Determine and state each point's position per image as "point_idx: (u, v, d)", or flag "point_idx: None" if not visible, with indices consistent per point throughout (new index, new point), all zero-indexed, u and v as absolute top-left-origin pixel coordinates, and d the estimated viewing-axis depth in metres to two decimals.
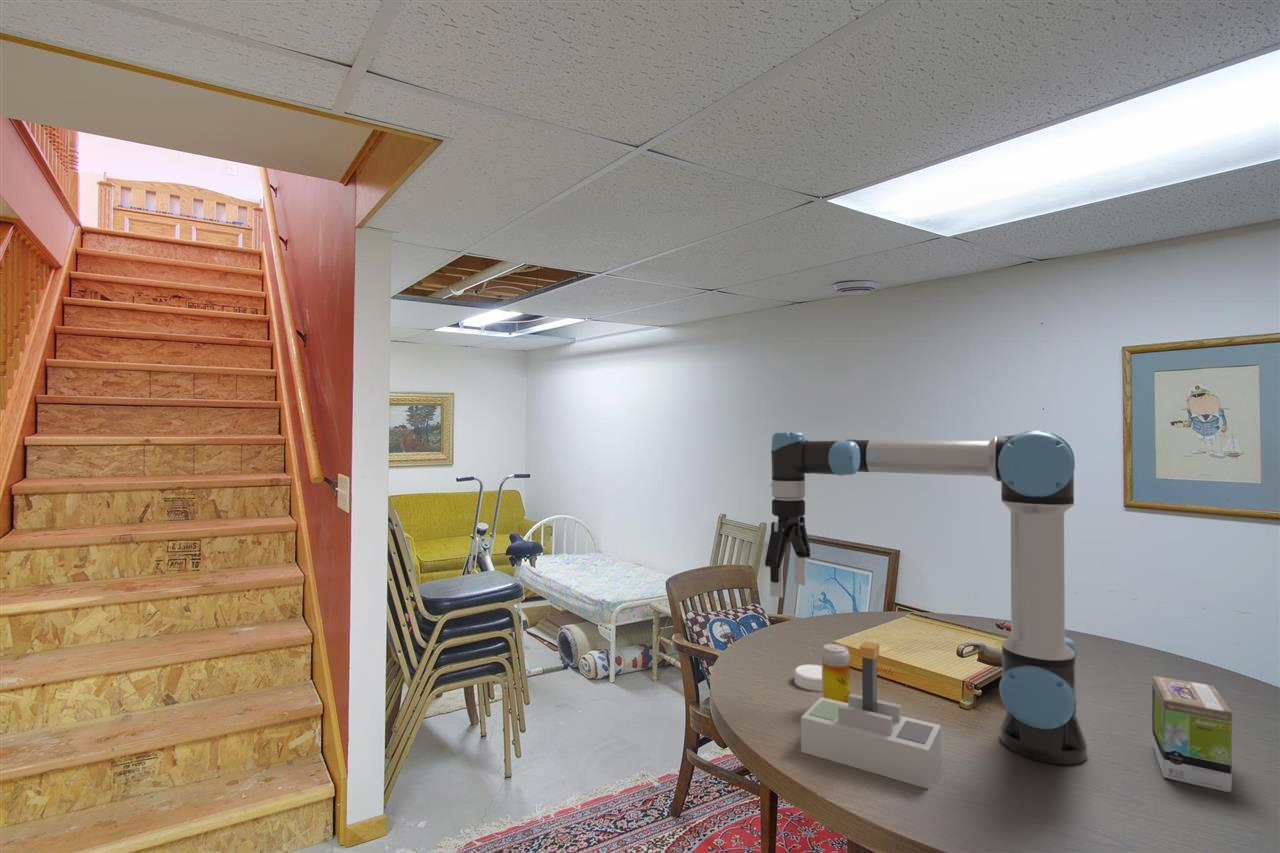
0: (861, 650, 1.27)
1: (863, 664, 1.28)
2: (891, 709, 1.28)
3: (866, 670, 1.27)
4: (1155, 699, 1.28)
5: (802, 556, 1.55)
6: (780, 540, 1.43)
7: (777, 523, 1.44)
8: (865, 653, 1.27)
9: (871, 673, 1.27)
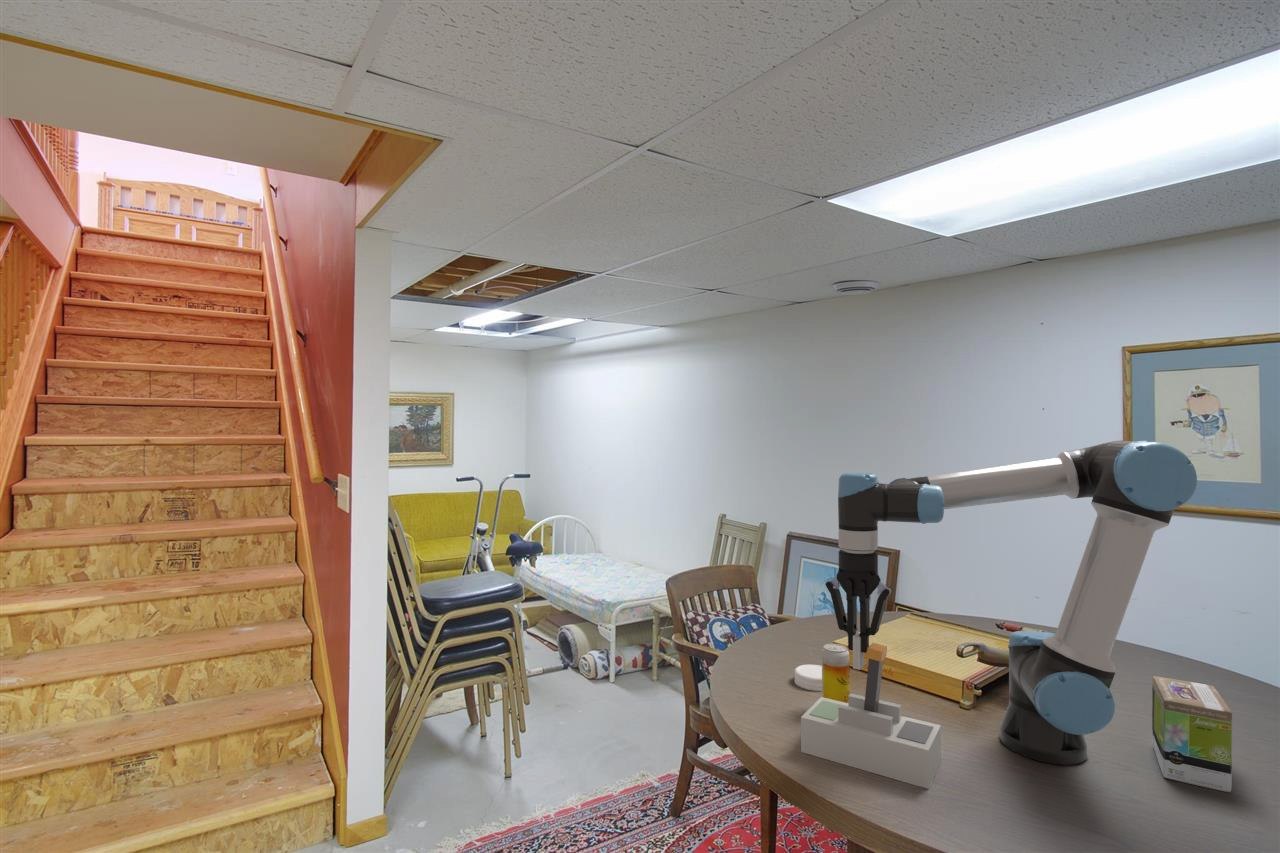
0: (869, 651, 1.27)
1: (869, 665, 1.27)
2: (891, 709, 1.28)
3: (871, 672, 1.27)
4: (1155, 699, 1.28)
5: (860, 632, 1.29)
6: (834, 600, 1.31)
7: None
8: (873, 655, 1.26)
9: (876, 675, 1.26)
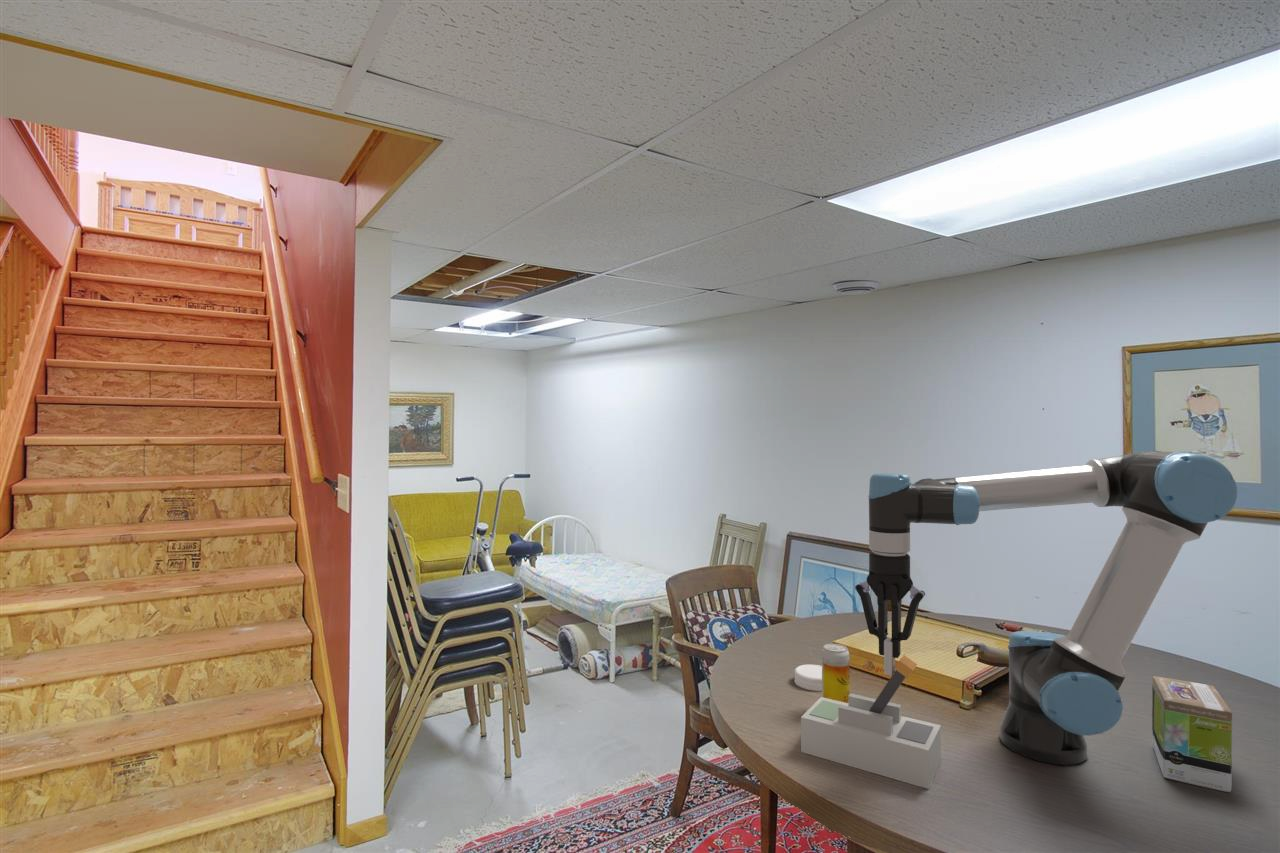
0: (899, 664, 1.23)
1: (893, 676, 1.24)
2: (891, 709, 1.28)
3: (892, 682, 1.24)
4: (1155, 699, 1.28)
5: None
6: (864, 604, 1.28)
7: None
8: (902, 669, 1.23)
9: (896, 687, 1.24)
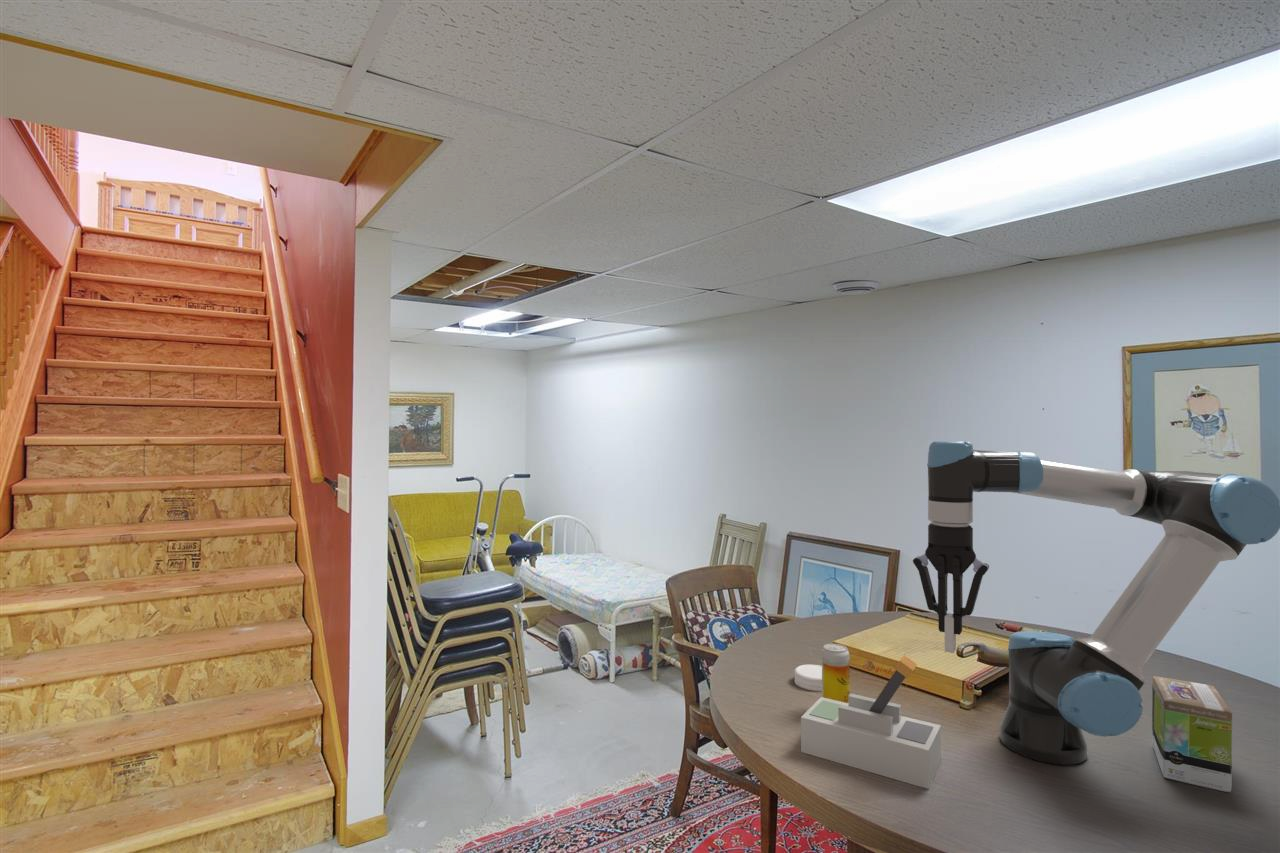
0: (899, 664, 1.23)
1: (893, 676, 1.24)
2: (891, 709, 1.28)
3: (892, 682, 1.24)
4: (1155, 699, 1.28)
5: (953, 612, 1.19)
6: (923, 578, 1.22)
7: None
8: (902, 669, 1.23)
9: (896, 687, 1.24)
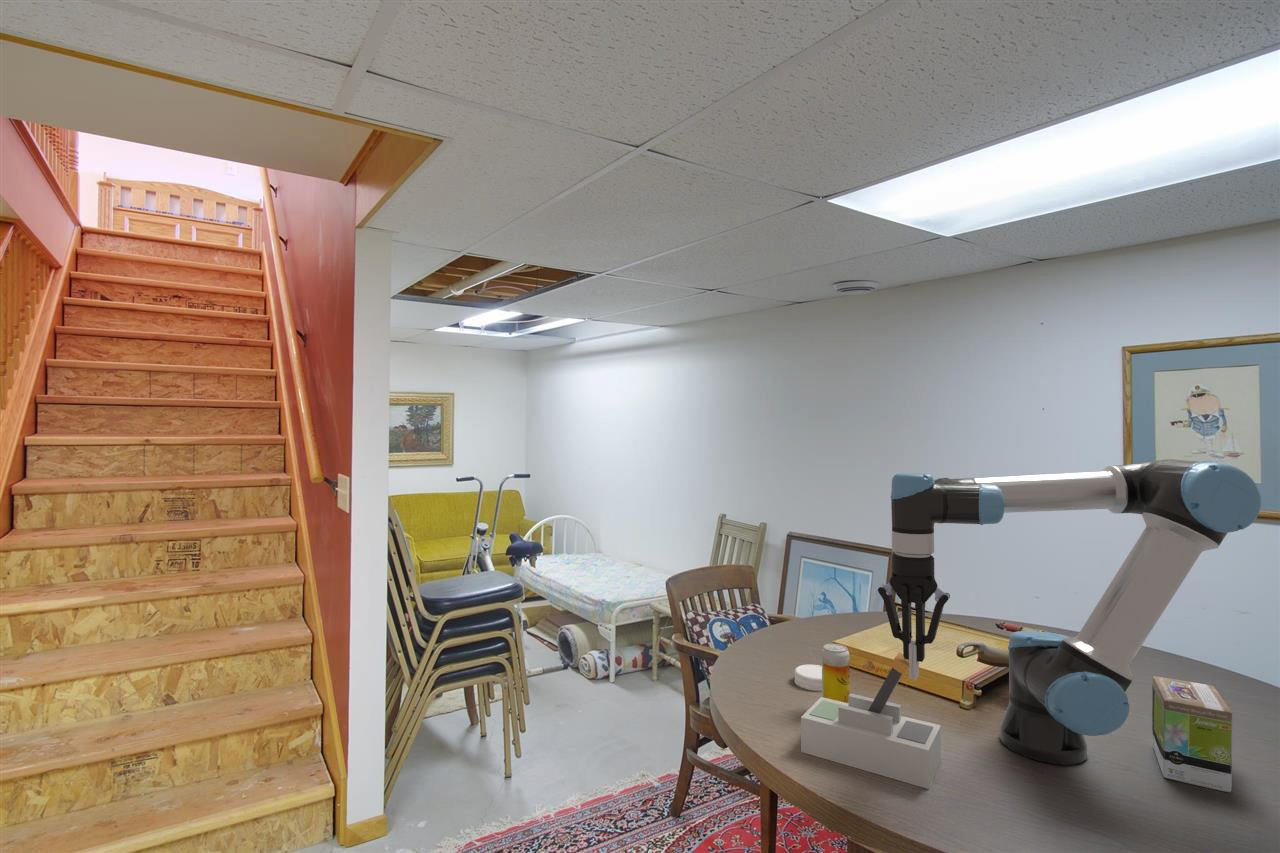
0: (895, 661, 1.24)
1: (890, 674, 1.25)
2: (891, 709, 1.28)
3: (889, 680, 1.25)
4: (1155, 699, 1.28)
5: None
6: (888, 607, 1.25)
7: None
8: (898, 666, 1.24)
9: (894, 685, 1.24)
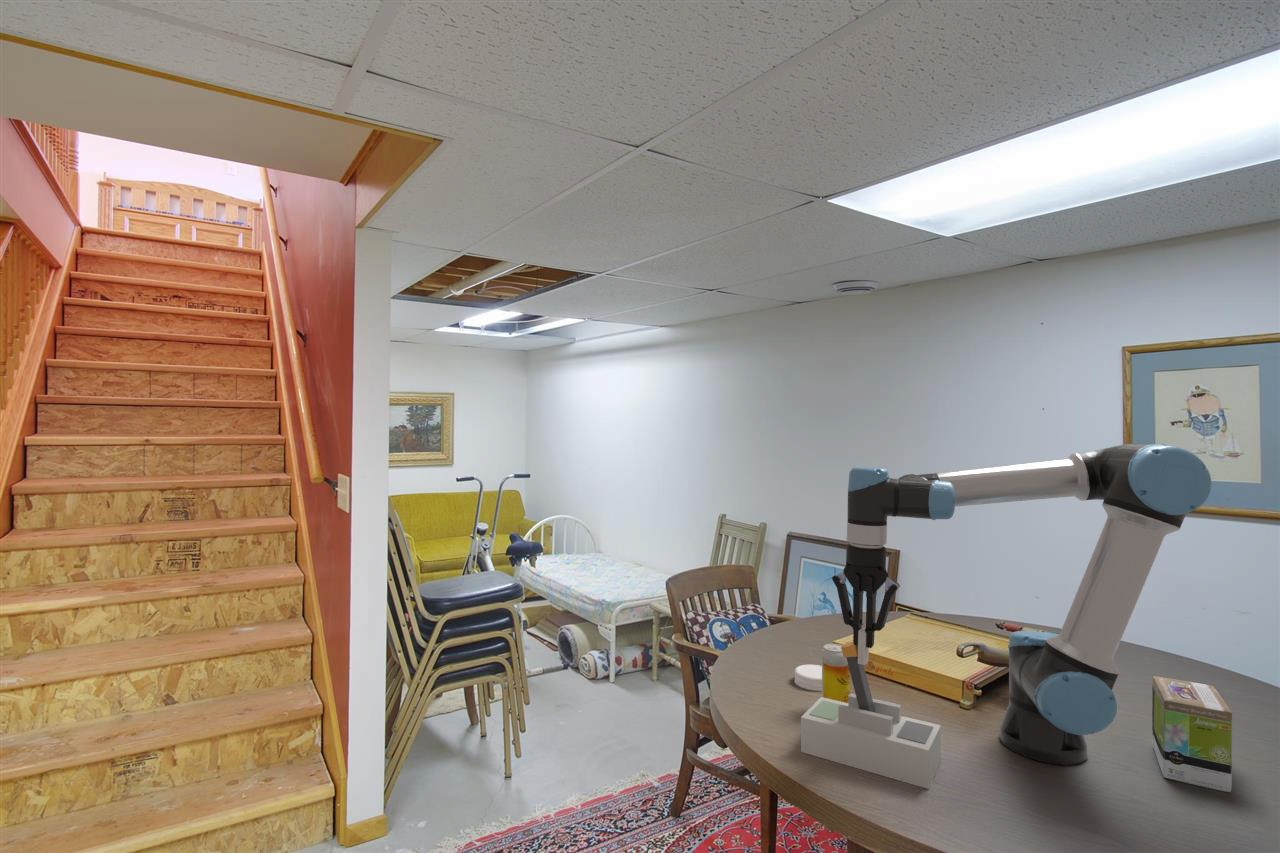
0: (843, 650, 1.29)
1: (849, 664, 1.29)
2: (891, 709, 1.28)
3: (853, 670, 1.29)
4: (1155, 699, 1.28)
5: None
6: (840, 595, 1.30)
7: None
8: (848, 652, 1.29)
9: (858, 671, 1.28)
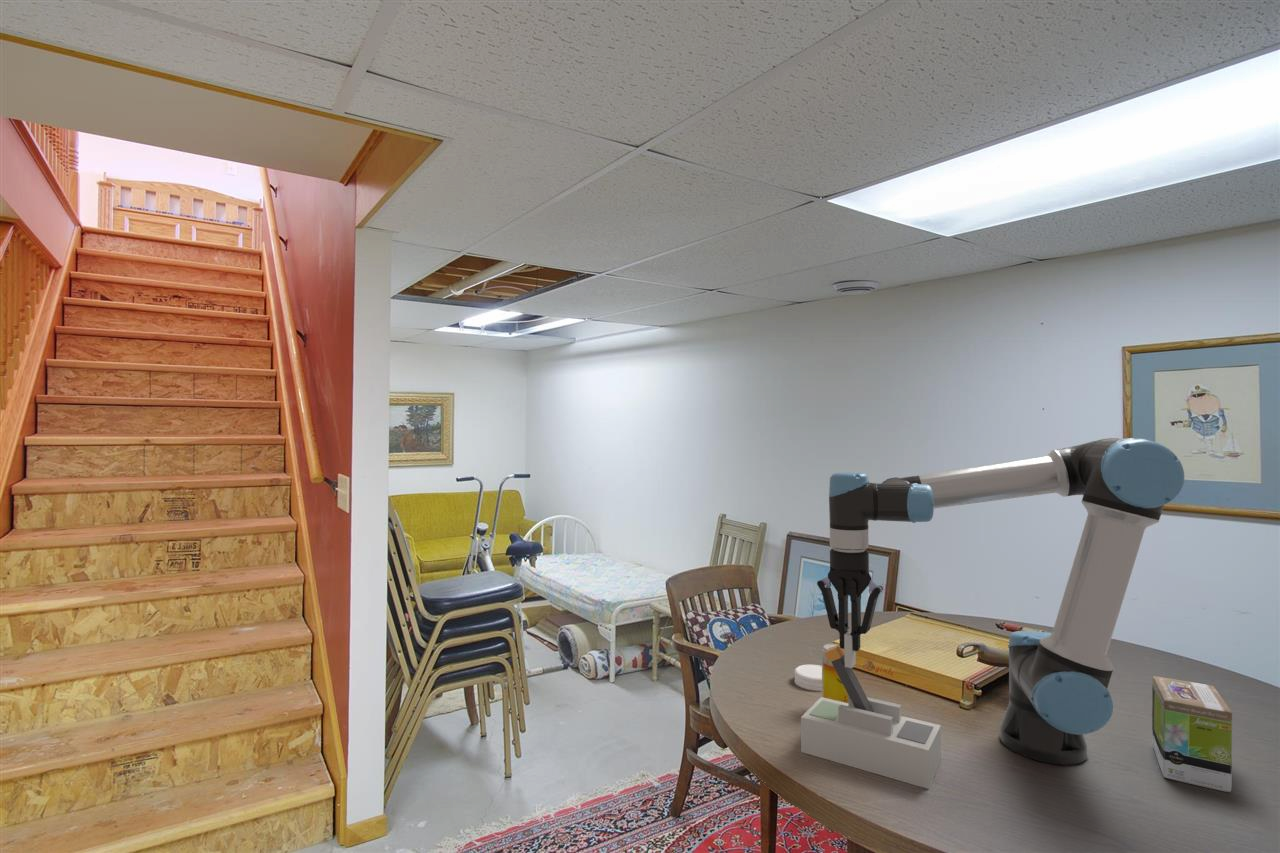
0: (827, 655, 1.31)
1: (835, 668, 1.31)
2: (891, 709, 1.28)
3: (840, 673, 1.30)
4: (1155, 699, 1.28)
5: None
6: (826, 599, 1.32)
7: None
8: (831, 656, 1.31)
9: (846, 672, 1.30)
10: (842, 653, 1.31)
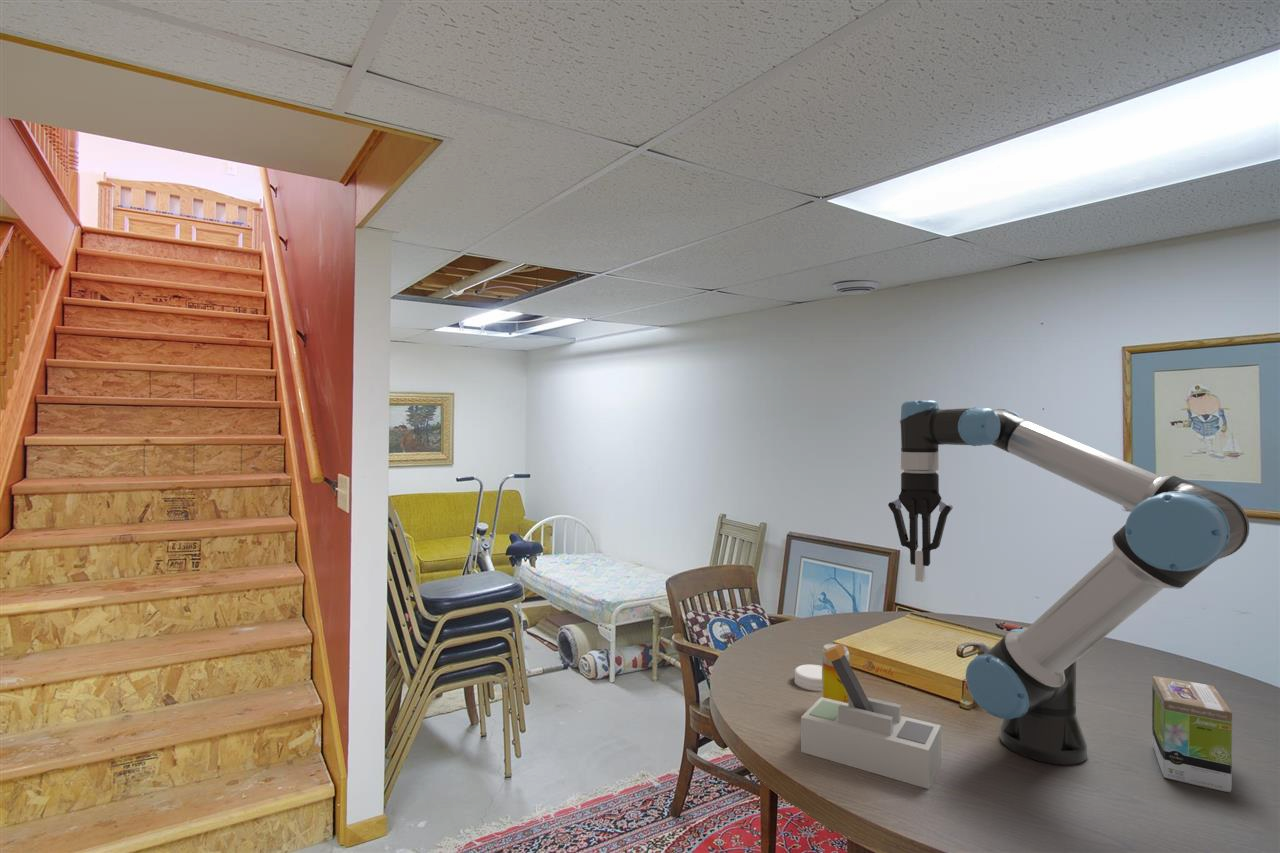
0: (827, 655, 1.31)
1: (835, 668, 1.31)
2: (891, 709, 1.28)
3: (840, 673, 1.30)
4: (1155, 699, 1.28)
5: (922, 547, 1.39)
6: (897, 519, 1.42)
7: None
8: (831, 656, 1.31)
9: (846, 672, 1.30)
10: (842, 653, 1.31)
